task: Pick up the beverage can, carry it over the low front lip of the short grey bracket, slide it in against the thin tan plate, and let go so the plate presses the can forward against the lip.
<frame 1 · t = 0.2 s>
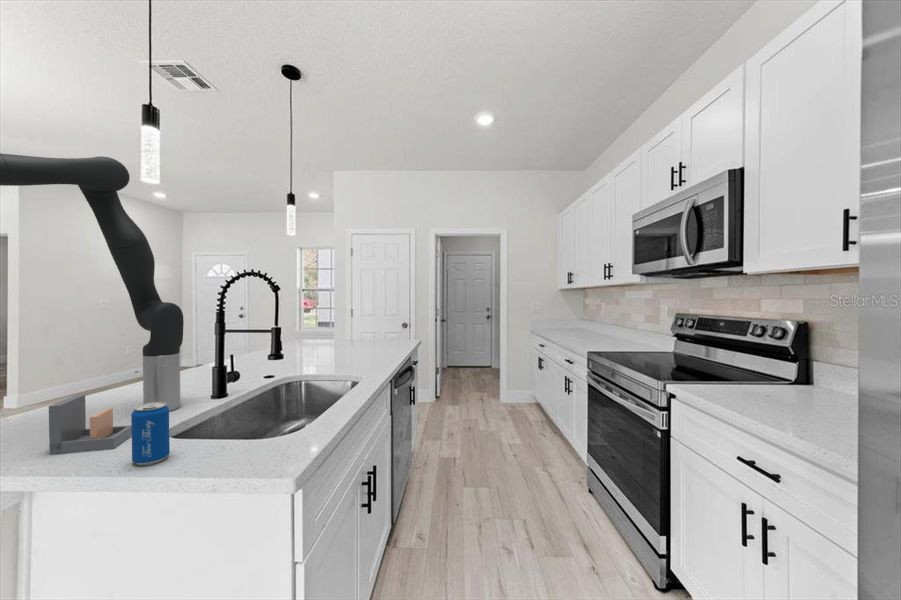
thin tan plate: (101, 425, 93), point 4 cm above the countertop, slide at 0.0 cm
grey bracket: (94, 444, 93), on the countertop
beverage can: (151, 461, 84), on the countertop
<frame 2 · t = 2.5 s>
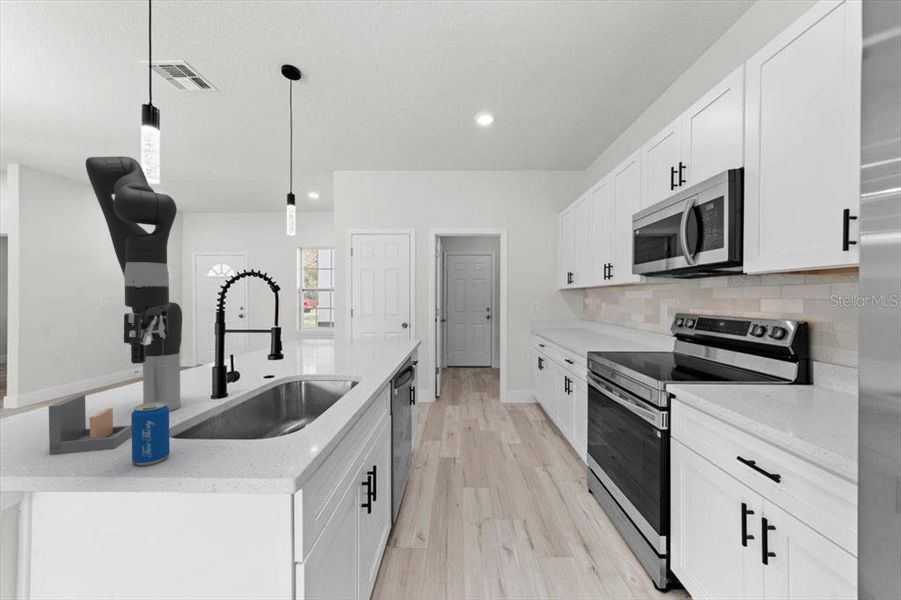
hand: (148, 359, 83), 22 cm above the countertop, tool pointing down, fingers open, 8 cm apart
nothing on the countertop moved.
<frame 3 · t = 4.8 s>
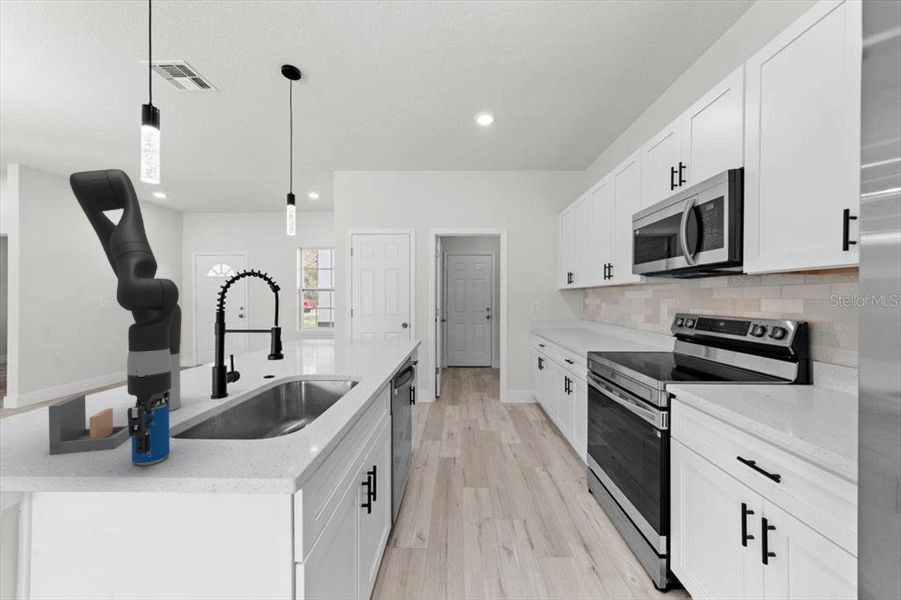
hand: (150, 446, 84), 3 cm above the countertop, tool pointing down, fingers closed on beverage can, 6 cm apart
beverage can: (151, 461, 84), on the countertop, touching gripper
everything else where it was.
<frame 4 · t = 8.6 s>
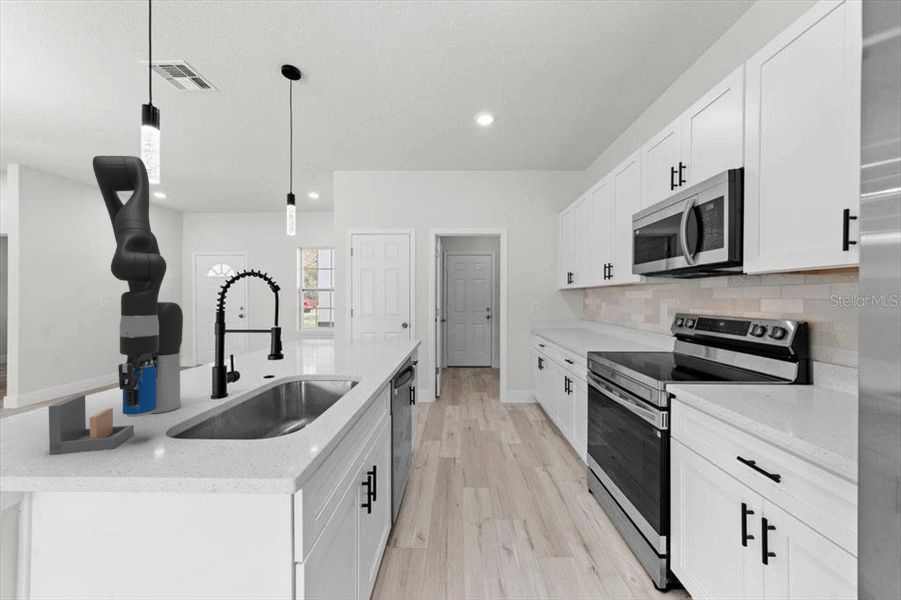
hand: (139, 401, 95), 10 cm above the countertop, tool pointing down, fingers closed on beverage can, 6 cm apart
beverage can: (140, 414, 95), point 6 cm above the countertop, touching gripper
everything else where it was.
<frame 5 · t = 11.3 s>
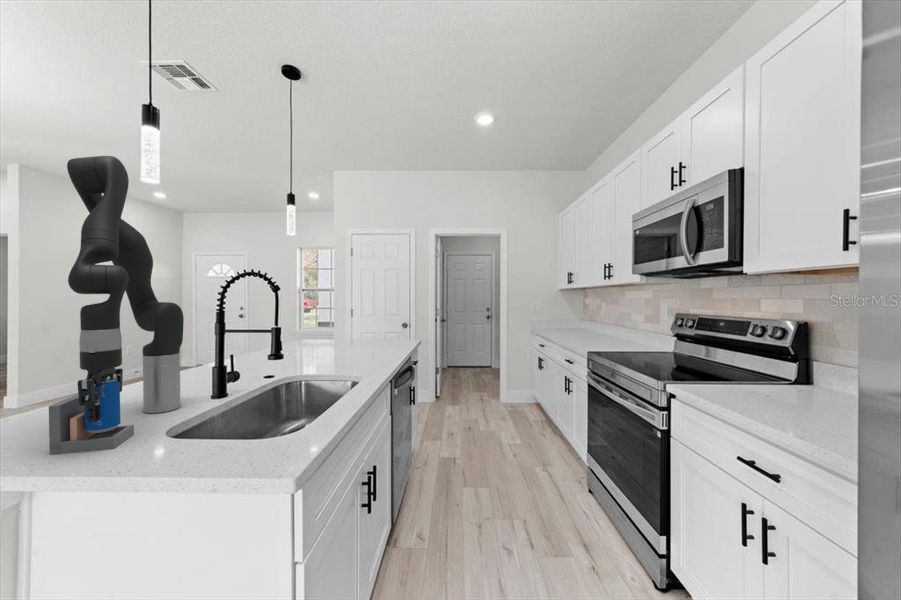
hand: (102, 416, 93), 7 cm above the countertop, tool pointing down, fingers closed on beverage can, 6 cm apart
thin tan plate: (83, 426, 92), point 4 cm above the countertop, slide at 3.7 cm, touching beverage can
beverage can: (102, 430, 93), point 3 cm above the countertop, touching gripper, thin tan plate
when the fingers open (5 cm above the countertop, at t = 12.5 s): beverage can stays where it is, resting on grey bracket, thin tan plate.
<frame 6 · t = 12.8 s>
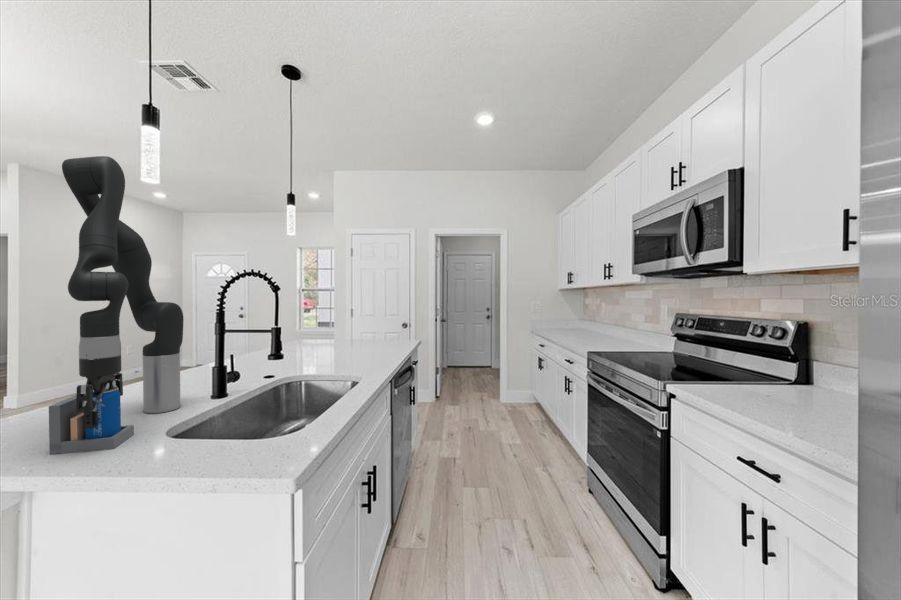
hand: (101, 421, 93), 5 cm above the countertop, tool pointing down, fingers open, 8 cm apart
beverage can: (103, 439, 93), point 1 cm above the countertop, touching grey bracket, thin tan plate
everything else where it was.
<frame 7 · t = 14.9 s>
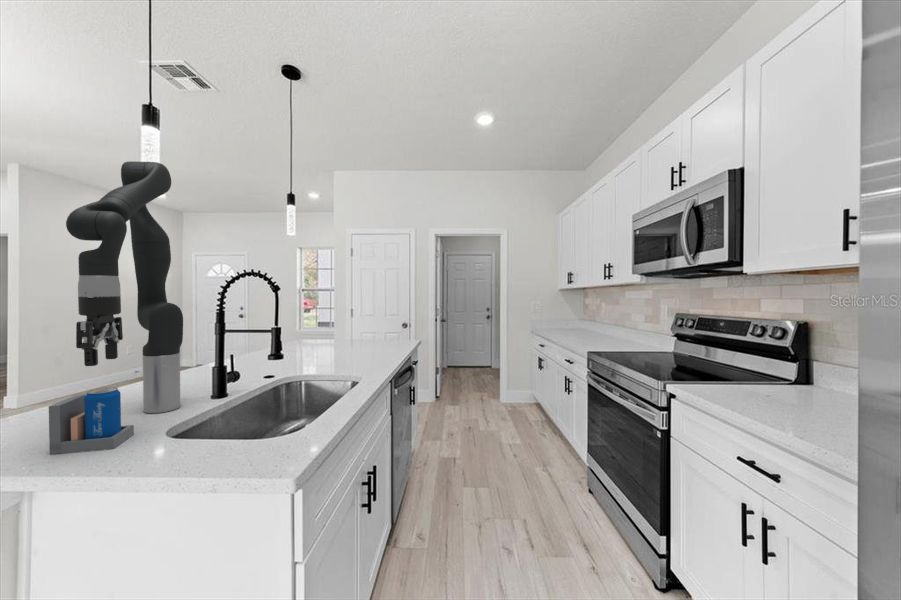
hand: (101, 362, 93), 20 cm above the countertop, tool pointing down, fingers open, 8 cm apart
nothing on the countertop moved.
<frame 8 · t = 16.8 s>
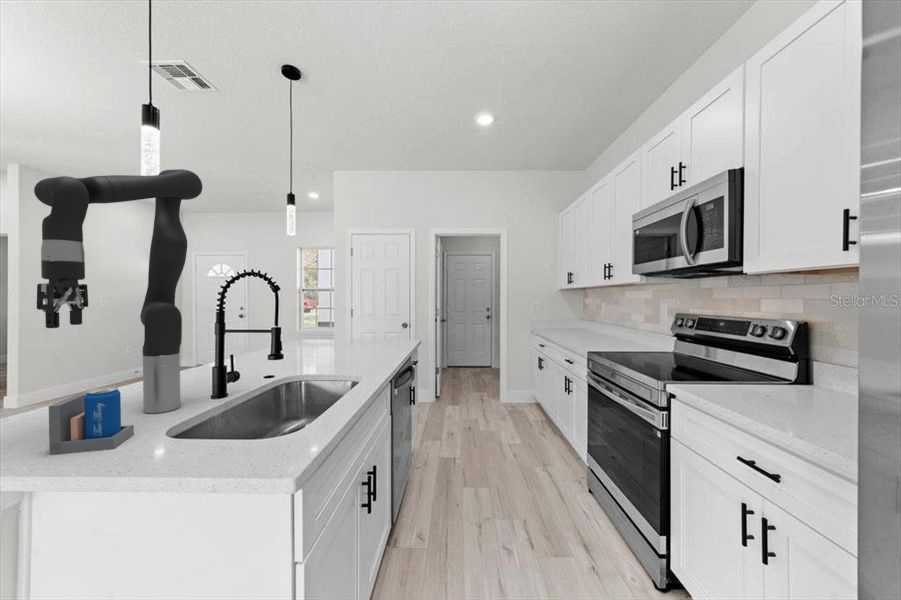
hand: (64, 326, 94), 28 cm above the countertop, tool pointing down, fingers open, 8 cm apart
nothing on the countertop moved.
at the end: beverage can 0.4 cm from the target spot on the grey bracket, point 0.8 cm above the grey bracket's base; beverage can tilted 0°; thin tan plate slide at 3.6 cm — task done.
